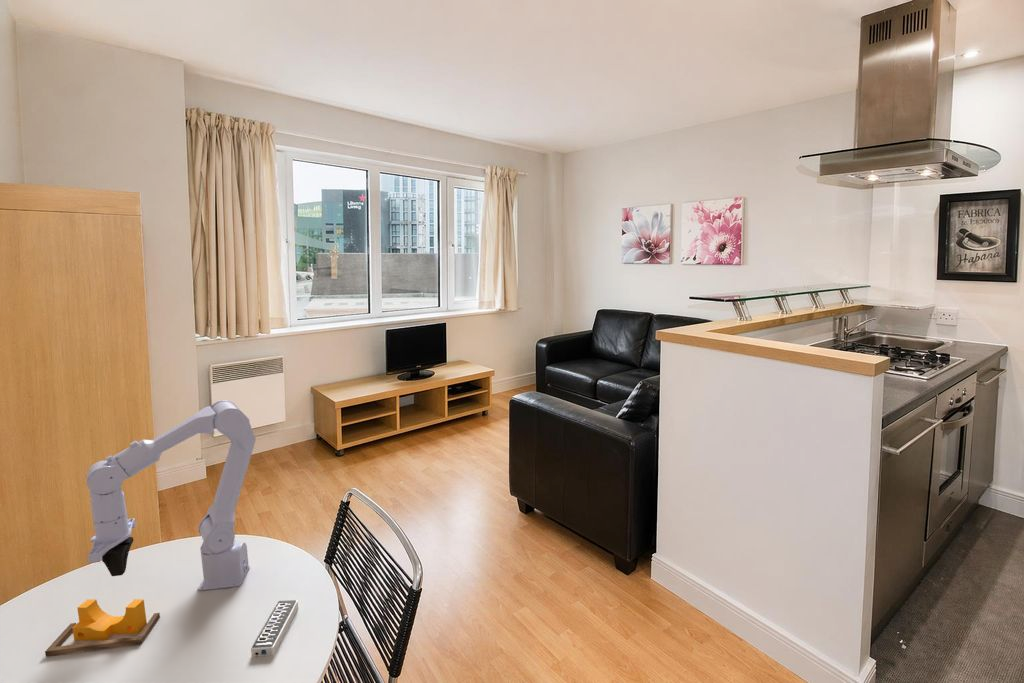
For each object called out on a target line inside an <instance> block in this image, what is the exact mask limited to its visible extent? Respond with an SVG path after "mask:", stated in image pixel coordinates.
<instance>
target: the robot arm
mask: <svg viewBox="0 0 1024 683" xmlns="http://www.w3.org/2000/svg"><path fill="white" fill-rule="evenodd" d="M215 429H216V430H217V432H219V433H220V434H222V435H224V436H225V437H227V438H228V440H229V441H230V445H229V448H228V452H227V455H226V459H225V462H224V465H223V468H222V469H223V470H222V471H221V476H220V478H219V483H218V485H217V489H216V491H215V495H214V499H213V502H212V504H211V505H210V506H209V507H208V509H207V512H206V515H205V516H204V517H203V518H202V519H201V520H200V522H199V524H198V533H199V534H200V536H201V538H202V543H201V545H200V557H201V565H202V566H201V568H202V575H203V579H202V581H201V582H200V584H199V586H198V587H197V591H199V592H201V591H209V590H219V589H226V588H233V587H234V588H235V587H240V586H241V585H242V583H243V582H244V580H245V578H246V576H247V574H248V572H249V570H250V565H249V557H248V546H247V544H246V542H243V541H242V542H240V541H236V539H235V537H236V536H235V531H234V529H235V528H234V527H235V524H236V507H237V504H238V500H239V498H240V494H241V491H242V487H243V484H244V480H245V477H246V475H247V474H246V473H247V470H248V467H249V464H250V460H251V457H252V454H253V451H254V448H255V444H256V436H255V434H254V431H253V428H252V425H251V422H250V418H249V417H248V416H247V415H246V414H245V413H244V412H243V411H242V410H240V408H239V407H238V406H237V405H236V404H235V403H234V402H233V401H231V400H227V399H222V400H221V399H220V400H217V401H216V402H214V403H212V405H211V406H210V405H208V406H206V407H203V408H202V409H200V410H199V411H197V412H196V413H195V414H193V415H192V416H190V417H188V418H187V419H185V420H183V421H182V422H180V423H179V424H177V425H175V426H174V427H172V428H171V429H169V430H167V431H165V432H164V433H162V434H160V435H159V436H157V437H155V438H154V439H144V438H143V439H141V440H139V441H137V440H133V441H132V442H130V443H129V445H130V446H129V447H127V448H125V449H124V450H122V451H120V452H117V453H116V454H115V455H113V456H112V455H108V456H107V457H105V460H99V461H97V462H95V463H94V464H92V465H91V466H90V467H89V469H88V470H87V473H86V476H85V477H86V484H87V485H86V486H87V487H88V489H89V497H90V501H89V502H90V507H91V515H92V521H93V528H94V534H95V535H93V536H92V537H91V538H90V541H89V542H90V543H93V544H92V547H91V549H90V550H91V551H89V553H88V554H87V558H88V564H93V563H94V564H96V563H101V562H102V563H103V564H104V565H105V567H106V568H107V570H108V572H109V573H110V576H111V577H116V576H117V577H119V576H120V577H121V576H123V575H124V574H125V572H126V570H127V564H128V563H127V562H128V557H129V553H130V550H131V547H132V545H133V543H134V537H133V536H131V534H132V532H133V531H132V530H133V529H134V528H136V527H137V523H136V518H134V517H133V518H128V512H127V506H126V505H127V504H126V498H125V493H124V491H123V490H122V489H123V488H122V485H123V482H124V481H125V480H128V479H129V478H132V477H133V476H134V475H136V474H138V473H141V471H144V470H145V469H146V468H149V467H151V466H152V465H154V464H155V463H157V462H159V461H160V458H161V456H162V453H163V452H165V451H167V450H169V449H171V448H173V447H175V446H177V445H178V444H181V443H182V442H184V441H186V440H187V439H190V438H192V437H194V436H196V435H198V434H207V435H215Z"/></svg>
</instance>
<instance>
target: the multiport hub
mask: <svg viewBox="0 0 1024 683" xmlns="http://www.w3.org/2000/svg"><path fill="white" fill-rule="evenodd" d="M298 609H299V601H298V599H293V600H292V599H291V600H288V599H287V600H278V601H277V602H276V603H275V605H274V607H273V609H272V611H271V613H270V614H269V616H268V617H267V620H266V621H265V623H264V625H263V626H262V628H261V629H260V631H259V633H258V635H257V636H256V638H255V640H254V642H253V644H252V645H251V647H250V653H251V658H265V657H269V658H270V657H273V656H275V654H276V653H277V651H278V649H279V647H280V645H281V643H282V641H283V639H284V637H285V635H286V634H287V632H288V629H289V627H290V625H291V623H292V621H293V620H294V618H295V615H296V614H297V611H298Z"/></svg>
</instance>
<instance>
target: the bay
mask: <svg viewBox="0 0 1024 683" xmlns="http://www.w3.org/2000/svg"><path fill="white" fill-rule="evenodd" d="M160 618H161V613H160V612H154V613H153V615H152V616H151V617H150V619H149V620H148V622H147V624H146V626H145V627H144V629H143V630H142V631H141V633H140V634H139V635H137V636H129V637H122V638H115V639H107V640H105V641H88V642H84V643H75V644H69V645H66V644H65V645H63V644H64V643H65V642H66V641H67V640H68V639H69V637H70V636H71V635H72V634H73V629H72V627H74V626H75V625H76V624H77V623H76V622H73V623H70V624H69V625H67V627H66V628H65V629H64V630H63V631H62V632H61V633H60V635H58V637H57V638H56V639H55V640H54V641H53V642H52V643H51V645H50V646H49V647H48V648H47V649H45V651H44V653H45V658H47V657H48V658H49V657H53V656H56V657H57V656H62V655H63V656H64V655H70V654H77V653H78V654H80V653H86V652H93V651H100V650H101V651H102V650H108V649H116V648H124V647H132V646H138V645H143V643H144V642H145V640H146V639H147V637H148V636H149V635H150V633H151V632H152V630H153V629H154V627H155V626H156V624H157V623H158V622H159V619H160Z"/></svg>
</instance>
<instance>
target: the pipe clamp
mask: <svg viewBox="0 0 1024 683" xmlns="http://www.w3.org/2000/svg"><path fill="white" fill-rule="evenodd" d="M97 601H98V600H97V599H96V598H95V599H91V598H90V599H89V598H88V599H85V601H84V602H82V603H81V604H80V605H78V606H77V607H76V608H77V614H78V615H77V616H78V622H77V623H76V625H75V626H74V627H72V629H73V633H72V634H73V641H74V642H83V641H84V642H97V641H105V640H109V638H110V637H112V635H114V636H115V635H118V636H120V635H122V636H123V635H131V636H132V635H133V636H134V635H137V636H139V634H140V633H141V632H142V630H143V629H144V627H145V626H146V624H147V623H148V622H147V615H146V607H145V600H144V599H142V598H139V599H133V600H132V601H131V602H130V603H129V604H128V605H127V606H126V607H125V612H124V615H121V616H115V615H110V614H108V613H106V612H105V611H104V610H103V609H102V608H101V607H100V605H99V604H98V602H97Z"/></svg>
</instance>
